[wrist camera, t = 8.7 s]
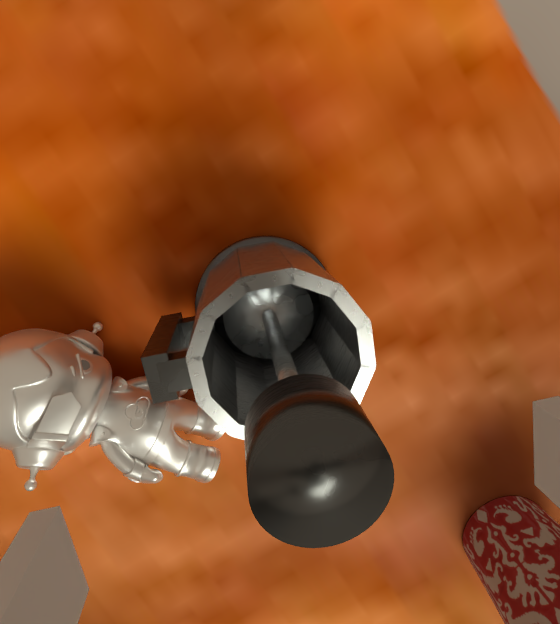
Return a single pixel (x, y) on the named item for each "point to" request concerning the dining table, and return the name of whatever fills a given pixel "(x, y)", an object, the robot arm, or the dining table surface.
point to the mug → (517, 559)
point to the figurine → (93, 411)
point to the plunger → (305, 433)
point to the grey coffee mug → (245, 368)
